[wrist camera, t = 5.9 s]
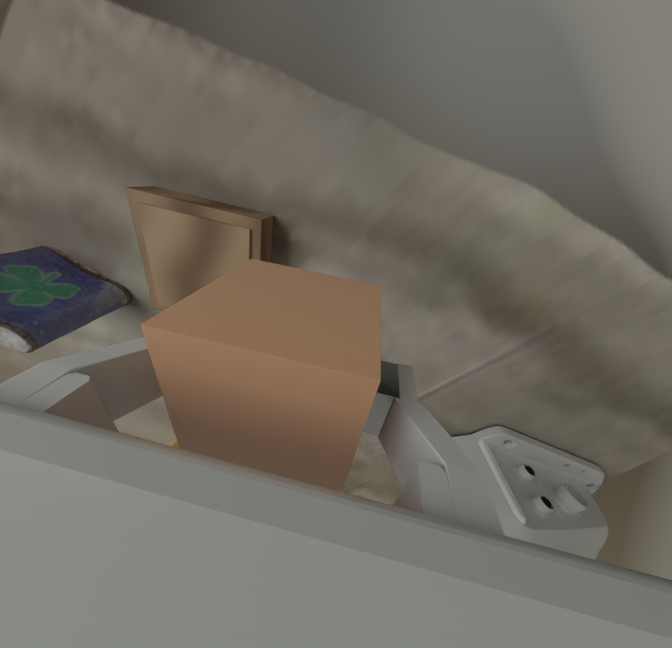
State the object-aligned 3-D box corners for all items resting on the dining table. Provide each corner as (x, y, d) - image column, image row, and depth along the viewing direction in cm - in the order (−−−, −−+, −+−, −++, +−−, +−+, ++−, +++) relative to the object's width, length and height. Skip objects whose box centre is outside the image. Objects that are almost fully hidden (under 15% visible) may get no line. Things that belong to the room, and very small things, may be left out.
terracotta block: (381, 286, 9) (380, 380, 5) (354, 382, 12) (338, 499, 7) (251, 258, 9) (140, 324, 5) (254, 358, 12) (182, 458, 8)
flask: (133, 290, 25) (-6, 355, 16) (130, 310, 26) (1, 380, 17) (38, 238, 23) (-179, 276, 14) (41, 263, 25) (-155, 312, 16)
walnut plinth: (273, 215, 19) (260, 220, 17) (267, 320, 25) (256, 334, 22) (152, 186, 19) (122, 187, 17) (172, 297, 25) (151, 309, 22)
